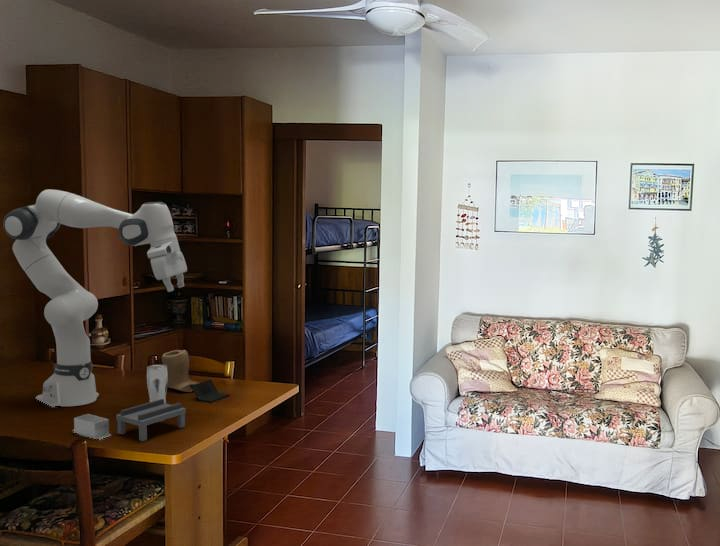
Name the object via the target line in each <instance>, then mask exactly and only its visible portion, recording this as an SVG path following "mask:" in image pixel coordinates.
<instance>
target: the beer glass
mask: <svg viewBox="0 0 720 546" xmlns="http://www.w3.org/2000/svg"><path fill="white" fill-rule="evenodd" d="M146 368H147V369H146V386H147V387H146V388H147V390H148V397H149V402H153V401H156V400H160V399H164V403H165V404H167V401H166V398H167V397H166V396H167V391H168V387H167V385H168V382H169V377H168V372H167V366H166V365H163V364H153V365H149V366H147V367H146Z"/></svg>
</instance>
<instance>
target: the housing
mask: <svg viewBox="0 0 720 546" xmlns="http://www.w3.org/2000/svg"><path fill="white" fill-rule="evenodd" d="M109 421H110V420H109V418H105V417H101V416H98V415H95V414H94V415H93V414H90V413H86V414H82V415H79V416H76V417H73V424H74V425H73V427H74V428H73V429H72V432H73V431H74V432H73V433H77V434H76V435H78V434H79V435H78V436H81V437H85V438H87V437H89V438H88V439H91V438H93V439H92V440H94V439H96V440H97V439H99V440H98V441H102V440H104V439H103V438H106V437H109V436H111V437H112V433H110V422H109ZM109 438H110V437H109ZM101 439H102V440H101ZM106 439H107V438H106Z"/></svg>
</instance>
